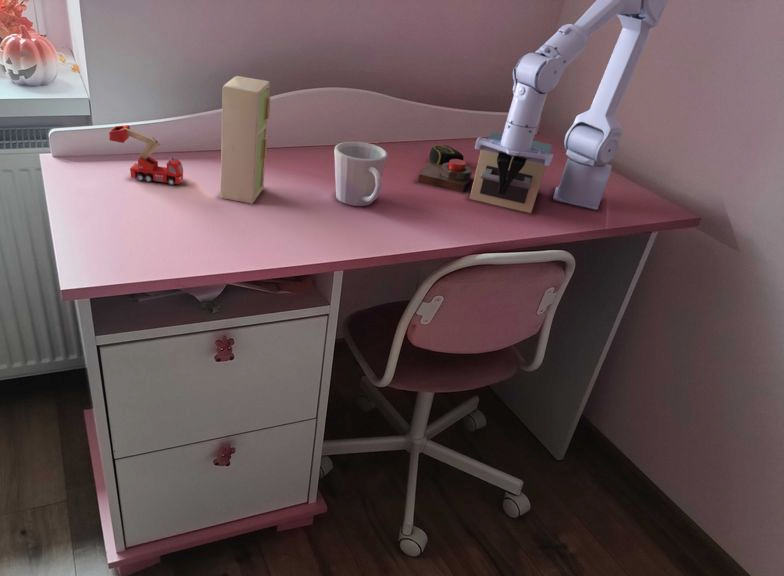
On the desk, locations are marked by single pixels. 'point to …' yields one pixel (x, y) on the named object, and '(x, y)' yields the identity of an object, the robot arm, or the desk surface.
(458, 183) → the timer block
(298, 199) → the desk surface
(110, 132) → the toy fire truck
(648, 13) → the robot arm
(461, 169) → the button
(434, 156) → the tape measure
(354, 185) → the mug
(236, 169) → the toy refrigerator
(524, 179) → the oven door
